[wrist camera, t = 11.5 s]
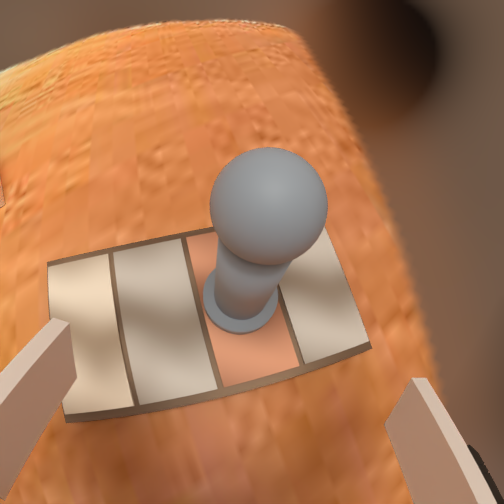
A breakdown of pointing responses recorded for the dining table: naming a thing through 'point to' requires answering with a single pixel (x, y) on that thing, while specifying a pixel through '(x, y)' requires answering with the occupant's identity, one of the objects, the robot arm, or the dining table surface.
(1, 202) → the die
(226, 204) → the pawn
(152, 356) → the board
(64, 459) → the dining table surface
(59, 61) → the dining table surface
